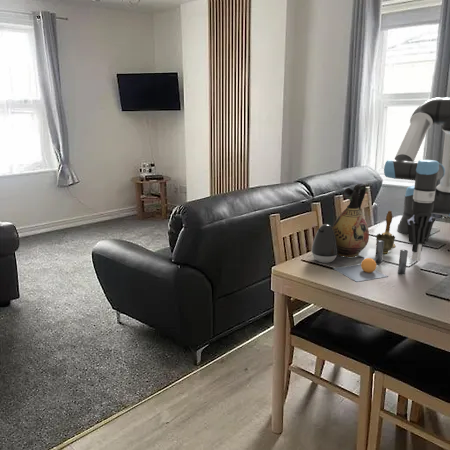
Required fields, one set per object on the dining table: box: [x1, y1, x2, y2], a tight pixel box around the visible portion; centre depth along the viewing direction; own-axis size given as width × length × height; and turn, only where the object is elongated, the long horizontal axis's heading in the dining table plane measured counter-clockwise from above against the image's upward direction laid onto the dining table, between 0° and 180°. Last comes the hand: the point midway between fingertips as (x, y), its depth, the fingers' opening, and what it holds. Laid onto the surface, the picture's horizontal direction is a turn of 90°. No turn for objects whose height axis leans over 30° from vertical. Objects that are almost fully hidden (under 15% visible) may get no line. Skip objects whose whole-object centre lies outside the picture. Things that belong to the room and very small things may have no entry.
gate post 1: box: [374, 240, 384, 265], centre depth 177 cm, size 3×3×9 cm
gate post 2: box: [397, 249, 409, 276], centre depth 165 cm, size 3×3×9 cm
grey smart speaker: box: [311, 223, 338, 264], centre depth 177 cm, size 10×10×15 cm
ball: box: [360, 257, 377, 273], centre depth 167 cm, size 6×6×6 cm
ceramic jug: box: [332, 183, 370, 258], centre depth 184 cm, size 17×15×30 cm
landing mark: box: [332, 263, 389, 283], centre depth 167 cm, size 14×14×1 cm
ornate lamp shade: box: [376, 232, 396, 256], centre depth 188 cm, size 8×7×8 cm
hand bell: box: [375, 210, 396, 249], centre depth 198 cm, size 8×8×16 cm
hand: (415, 259), depth 177 cm, fingers closed
